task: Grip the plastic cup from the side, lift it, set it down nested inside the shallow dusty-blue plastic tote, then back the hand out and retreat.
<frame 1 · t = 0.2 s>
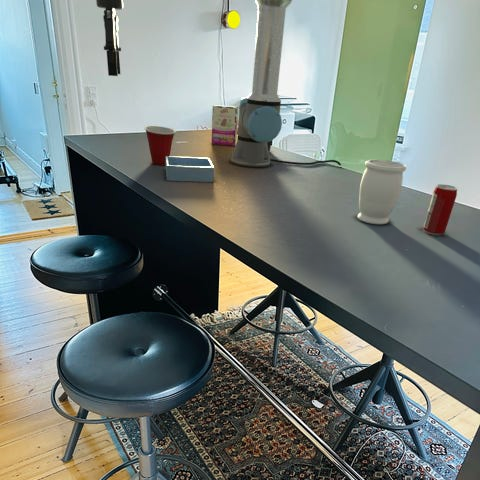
hand: (114, 75, 140), 28 cm above the table, tool pointing down, fingers open, 13 cm apart
soda can: (432, 232, 116), on the table
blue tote: (188, 175, 149), on the table
plastic cup: (160, 164, 162), on the table
pen holder: (260, 151, 200), on the table
jar: (372, 220, 121), on the table
candy bar box: (223, 145, 207), on the table
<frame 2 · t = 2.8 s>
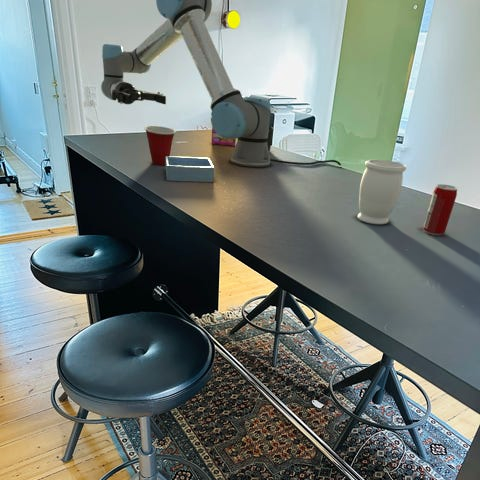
hand: (147, 99, 158), 20 cm above the table, tool horizontal, fingers open, 13 cm apart
nothing on the table moved.
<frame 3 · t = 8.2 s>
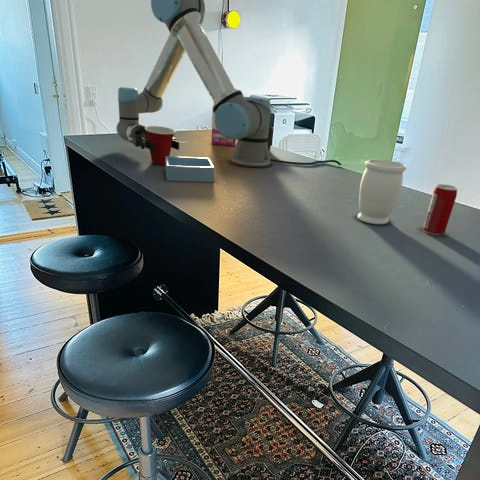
hand: (166, 146, 155), 7 cm above the table, tool horizontal, fingers closed on plastic cup, 9 cm apart
plastic cup: (160, 164, 162), on the table, touching gripper
everything else where it was.
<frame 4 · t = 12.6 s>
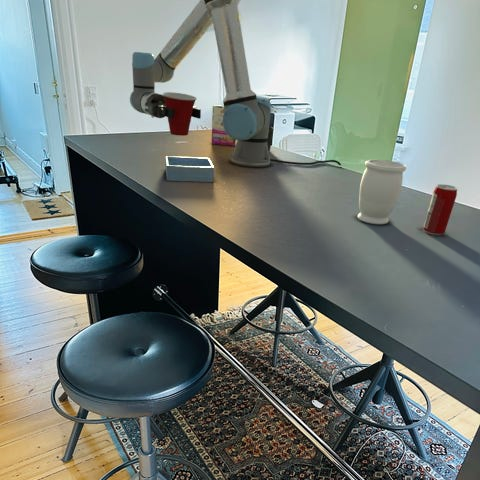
hand: (186, 113, 140), 19 cm above the table, tool horizontal, fingers closed on plastic cup, 9 cm apart
plastic cup: (179, 135, 147), point 12 cm above the table, touching gripper
everything else where it was.
when the fingers open (8 cm above the table, at t = 17.0 s): plastic cup stays where it is, resting on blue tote.
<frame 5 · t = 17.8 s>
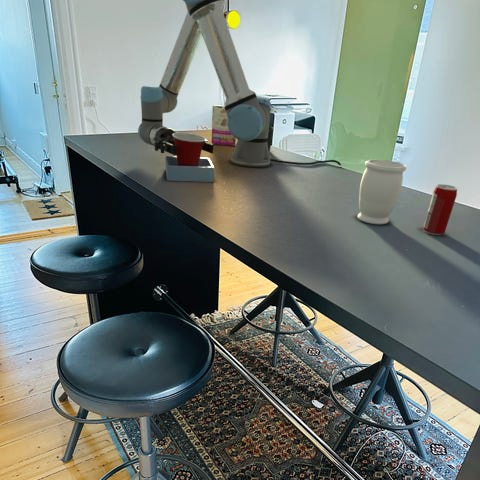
hand: (194, 149, 142), 9 cm above the table, tool horizontal, fingers open, 13 cm apart
plastic cup: (188, 173, 149), point 1 cm above the table, touching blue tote
everything else where it was.
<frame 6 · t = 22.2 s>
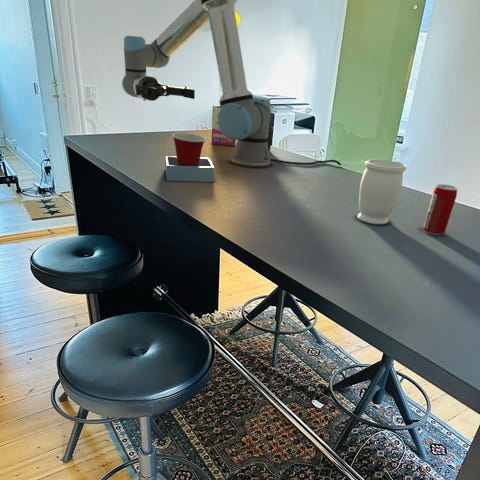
hand: (175, 93, 143), 24 cm above the table, tool horizontal, fingers open, 13 cm apart
nothing on the table moved.
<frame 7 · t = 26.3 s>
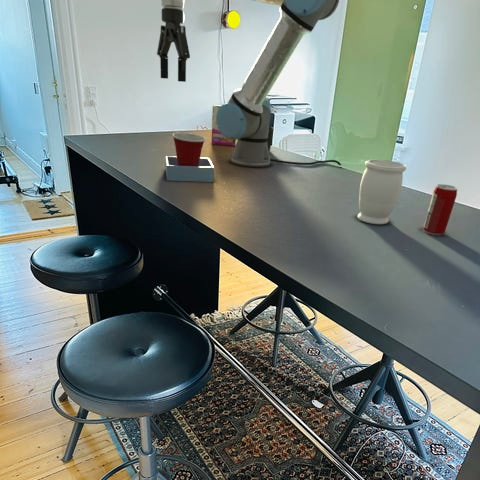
hand: (172, 80, 160), 27 cm above the table, tool pointing down, fingers open, 13 cm apart
nothing on the table moved.
at the end: plastic cup 0.1 cm off-centre in the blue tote, point 0.6 cm above the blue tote's base; plastic cup tilted 0°; the gripper is holding nothing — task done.
